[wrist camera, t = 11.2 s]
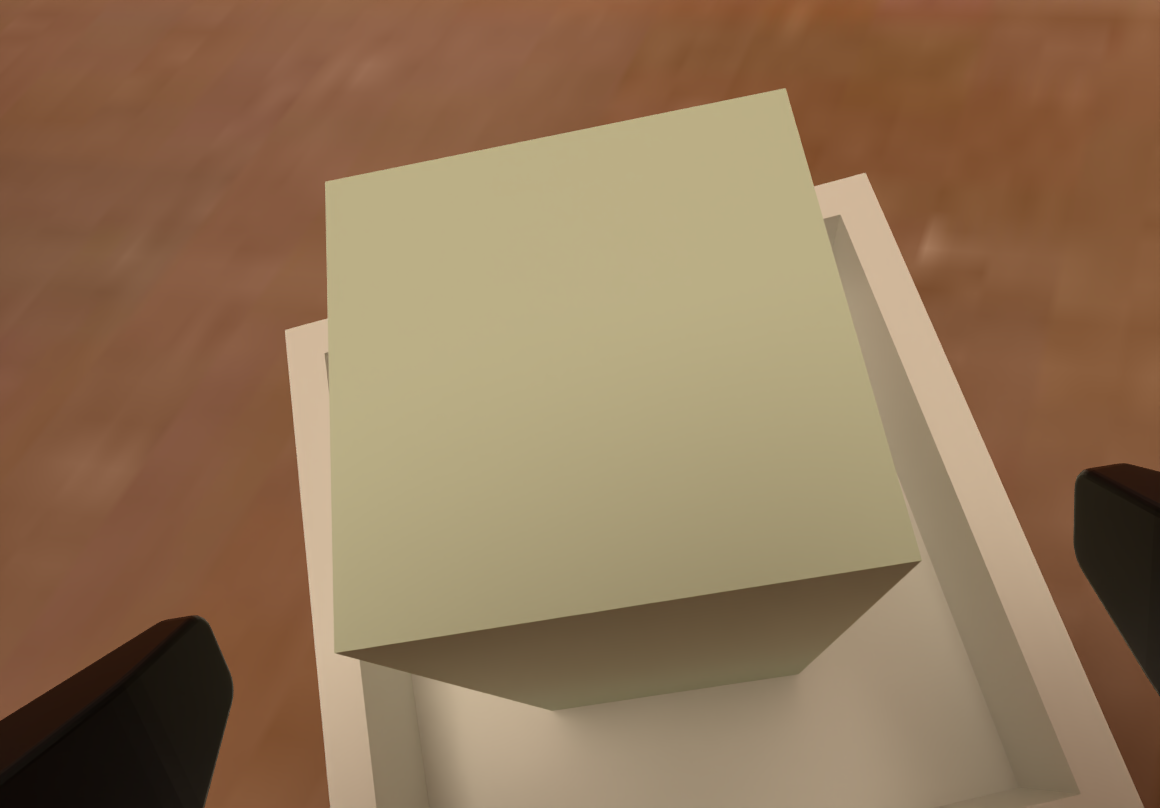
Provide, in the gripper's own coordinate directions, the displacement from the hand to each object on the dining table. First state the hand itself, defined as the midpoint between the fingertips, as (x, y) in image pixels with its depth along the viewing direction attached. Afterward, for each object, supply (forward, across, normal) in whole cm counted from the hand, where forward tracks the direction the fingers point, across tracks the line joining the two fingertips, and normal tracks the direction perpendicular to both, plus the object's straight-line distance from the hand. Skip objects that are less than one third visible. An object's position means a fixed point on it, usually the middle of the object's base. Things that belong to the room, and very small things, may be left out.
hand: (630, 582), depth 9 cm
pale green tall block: (+8, 0, +5) cm, 10 cm away
